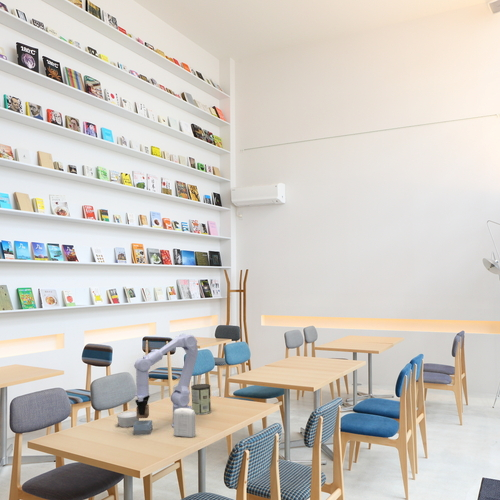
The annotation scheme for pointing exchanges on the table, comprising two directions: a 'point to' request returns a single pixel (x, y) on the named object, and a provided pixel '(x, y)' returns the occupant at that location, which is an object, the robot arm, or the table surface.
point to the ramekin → (127, 418)
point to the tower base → (143, 431)
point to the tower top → (143, 425)
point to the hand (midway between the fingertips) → (142, 413)
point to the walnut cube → (144, 414)
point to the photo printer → (184, 422)
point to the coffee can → (201, 399)
